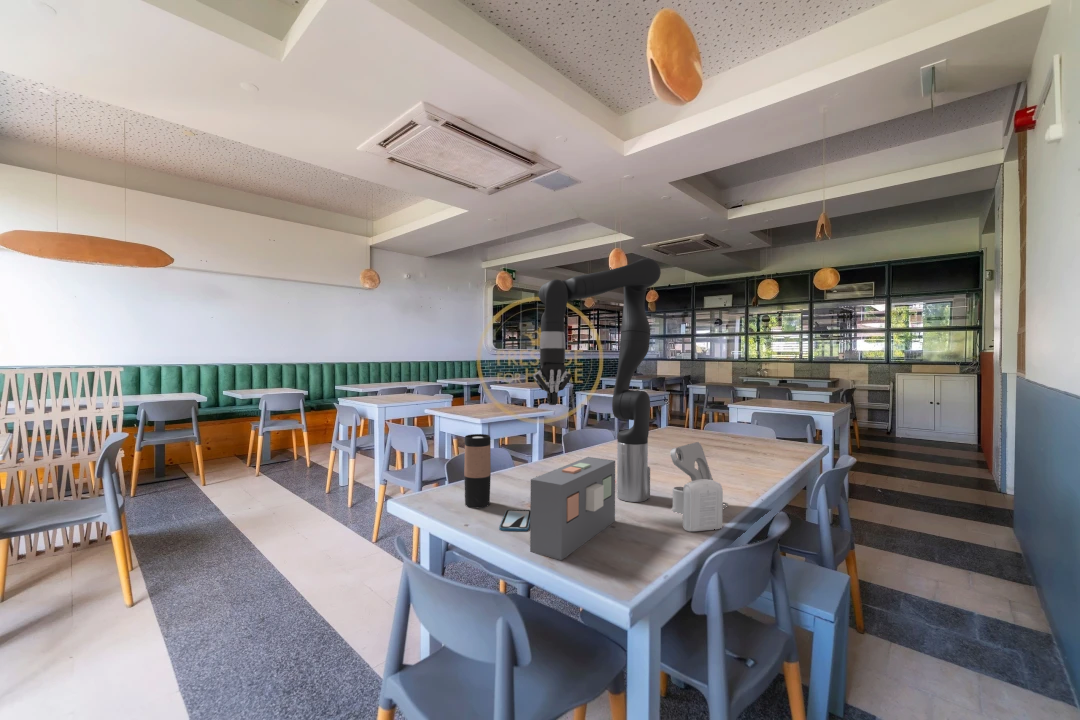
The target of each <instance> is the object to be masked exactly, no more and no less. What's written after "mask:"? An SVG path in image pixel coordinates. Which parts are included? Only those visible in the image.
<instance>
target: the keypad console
mask: <svg viewBox="0 0 1080 720" xmlns="http://www.w3.org/2000/svg"><path fill="white" fill-rule="evenodd" d="M607 476H611V496H609V497H607V498H606V499H604V500H603V506H602V507H601V508H599V509H598V510H596V511H589V510H586V487H587V486H589V485H591V484H593V483H595V484H601V485H602V479H603V478H605V477H607ZM576 492H577V493H579V515H578V516H576V517H574V518H573V519H571V520H569V521H568V522H567V497H568V496H570V495H572V494H574V493H576ZM529 510H530V524H529V531H530V533H529V534H530V535H529V537H530V538H529V539H530V541H529V543H530V544H529V545H530V546H529V548H530V549H529V550H530V552H531V553H534V554H537V555H541V556H545V557H549V558H551V559H555V560H559V561H563V560H564V559H565V558H567V557H568V556H569V555H571V554H572V553H574V552H575V551H576V550H577V549H579V548H581V547H582V546H583V545H584V544H586V543H588V541H590V540H591V539H593V538H594V537H595V536H597V535H598V534H599V533H601V532H602V531H604V530H605V529H606V528H608V527H609V526H611V525H612V524H613V523H614V522H616V460H614V459H608V458H607V459H606V458H600V457H591V456H586V457H584V458H582V459H578V460H577V461H574V462H572V463H569V464H566V465H563V466H561V467H559V468H556V469H553V470H551V471H548V472H546V473H545V472H544V473H543V474H541V475H538V477H536V476H535V477H533V478H530V509H529Z"/></svg>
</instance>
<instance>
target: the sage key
mask: <svg viewBox="0 0 1080 720" xmlns="http://www.w3.org/2000/svg"><path fill="white" fill-rule="evenodd" d="M602 485H604V499H606V498H607V497H609V496H611V476H607V477H605V478H603V479H602Z"/></svg>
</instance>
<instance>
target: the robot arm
mask: <svg viewBox="0 0 1080 720" xmlns="http://www.w3.org/2000/svg"><path fill="white" fill-rule="evenodd" d="M661 272H662V271H661V267H660V265H659V264H658V262H657V261H656V260H654V259H652V258H649V257H648V258H646V257H645V258H641V259H638V260H637V261H636V260H635V261H634V262H632V263H629V264H625V265H622V266H619V267H616V268H612V269H608V270H607V269H605V270H602V271H597V272H592V273H586V274H580V275H575V276H573V277H571V278H567V279H563V280H562V279H557V278H556V279H552V280H549V281H548V282H545V283H543V284H542V285H541V287H540V288H539V291H538V298H539V300H540V301H541V303H542V304H544V312H543V313H542V316H541V319H540V332H541V333H540V338H539V339H540V340H539V345H540V346H539V361H540V362H539V363H540V365H539V368H538V371H537V372H536V373H533V374H532V379H533V380H534V381H535V382H536V384H537V386H538V387H539V388H540V390H541V391H543V392H546V402H547V404H548V405H549V406H556V405H557V403H558V401H559V399H558V398H559V397H558V394H559V393H558V392H560V391H563V390H564V389H565V388H566V386H567V385H568V383H569V381H571V379H572V377H573V374H572V373H569V372H568V371H567V369H566V366H565V363H566V337H565V315H566V311H567V306H568V301H573V300H580V299H587V298H592V297H595V296H598V295H601V294H606V293H608V292H611V291H614V290H617V289H620V288H623V307H622V308H623V309H622V317H621V318H622V319H621V329H620V337H619V338H620V339H619V352H618V354H619V355H618V363H617V373H616V377H615V383H614V389H613V394H612V400H611V401H612V402H611V407H612V408H611V409H612V410H611V411H612V414H613V416H614V417H615V418H616V419H619V420H626V421H627V420H628V421H633V426H632V427H630V428H628V429H625V430H624V429H623V430H621V431H619V432H618V433H617V441H616V442H617V447H616V449H617V459H616V460H617V468H616V470H617V471H616V474H617V475H616V477H617V478H616V483H617V484H616V497H617V498H618V499H619V500H622V501H626V502H631V503H633V502H635V503H639V502H644V501H647V500H648V499H651V467H650V466H648V465H649V461H648V460H649V457H648V456H649V455H648V454H649V443H648V442H649V433H650V415H651V398H650V396H649V394H648V392H647V391H645V390H639V389H638V390H635V389H630V385H631V382H632V381H631V380H632V378H633V376H634V374H635V372H636V370H638V369H637V368H638V367H639V366H640V365H641V363H642V362H643V361H644V360H645V357H647V354H648V352H649V351H650V342H651V341H650V340H651V327H650V321H649V319H648V316H647V313H646V309H645V301H646V300H645V299H646V293H647V289H648V288H650V287H652V286H653V285H655V284H656V283H657V282H658V281H659V279H660V277H661V274H662V273H661Z"/></svg>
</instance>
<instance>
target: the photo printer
mask: <svg viewBox="0 0 1080 720" xmlns="http://www.w3.org/2000/svg"><path fill="white" fill-rule="evenodd" d="M682 487H683V515H682V528H683V529H684V530H685V531H687V532H690V533H691V532H702V531H713V530H714V529H715V530H721V529H723V510H722V507H723V502H724V500H723V498H724V493H723V492H724V491H723V490H724V489H723V486H722V484H721V483H720V482H718V481H716V480H708V479H700V480H695V481H692V480H691V481H690V482H687V483H685V484H684V486H682ZM720 528H721V529H720Z"/></svg>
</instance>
